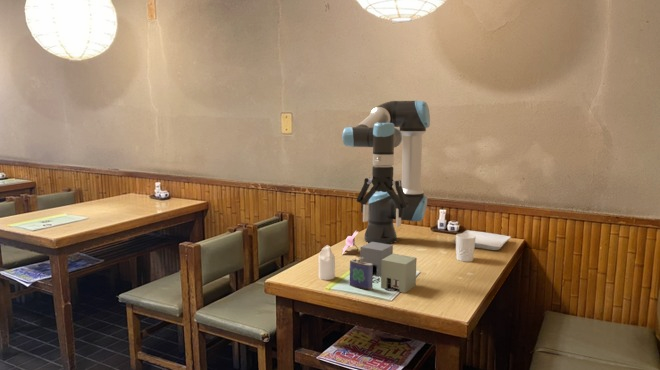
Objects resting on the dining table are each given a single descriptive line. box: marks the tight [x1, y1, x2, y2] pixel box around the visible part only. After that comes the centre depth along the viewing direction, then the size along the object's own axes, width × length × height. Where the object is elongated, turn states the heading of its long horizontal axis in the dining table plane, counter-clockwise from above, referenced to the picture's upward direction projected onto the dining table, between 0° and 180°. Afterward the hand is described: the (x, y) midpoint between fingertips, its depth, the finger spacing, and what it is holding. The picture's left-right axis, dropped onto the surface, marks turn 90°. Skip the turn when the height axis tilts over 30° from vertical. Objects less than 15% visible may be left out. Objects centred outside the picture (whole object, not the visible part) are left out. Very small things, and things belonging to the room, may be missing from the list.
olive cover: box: [380, 253, 418, 294], centre depth 172 cm, size 9×9×10 cm
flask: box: [349, 256, 374, 291], centre depth 171 cm, size 9×3×11 cm, turn 51°
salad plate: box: [453, 229, 511, 251], centre depth 228 cm, size 21×21×3 cm
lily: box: [341, 230, 360, 255], centre depth 213 cm, size 12×12×10 cm
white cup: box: [455, 233, 476, 263], centre depth 204 cm, size 8×8×10 cm
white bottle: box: [318, 244, 336, 281], centre depth 181 cm, size 6×12×6 cm
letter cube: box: [390, 279, 400, 290], centre depth 172 cm, size 4×4×4 cm
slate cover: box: [359, 242, 394, 277], centre depth 188 cm, size 9×9×10 cm
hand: (381, 223), depth 181 cm, fingers open, 13 cm apart
